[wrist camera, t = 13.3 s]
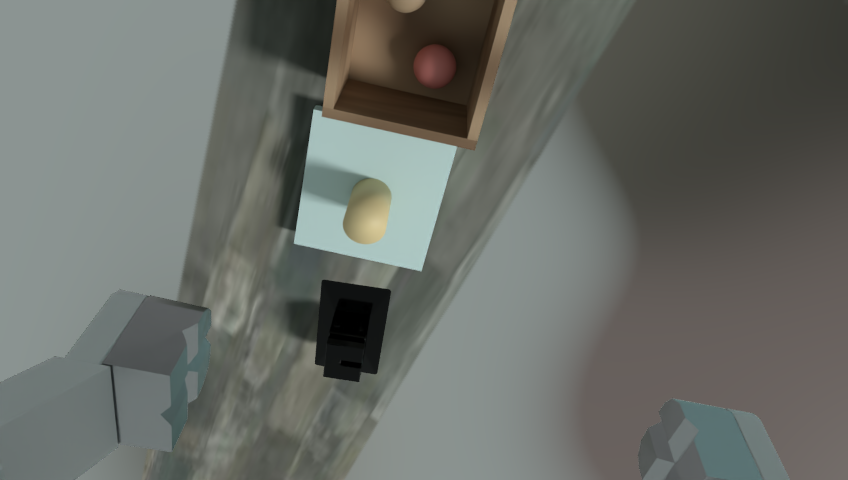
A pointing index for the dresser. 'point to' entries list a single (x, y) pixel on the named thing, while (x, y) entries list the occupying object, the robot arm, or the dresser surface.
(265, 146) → the dresser surface
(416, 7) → the bead maple
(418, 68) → the bead red
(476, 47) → the box
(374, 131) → the lid
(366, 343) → the black stepped block
